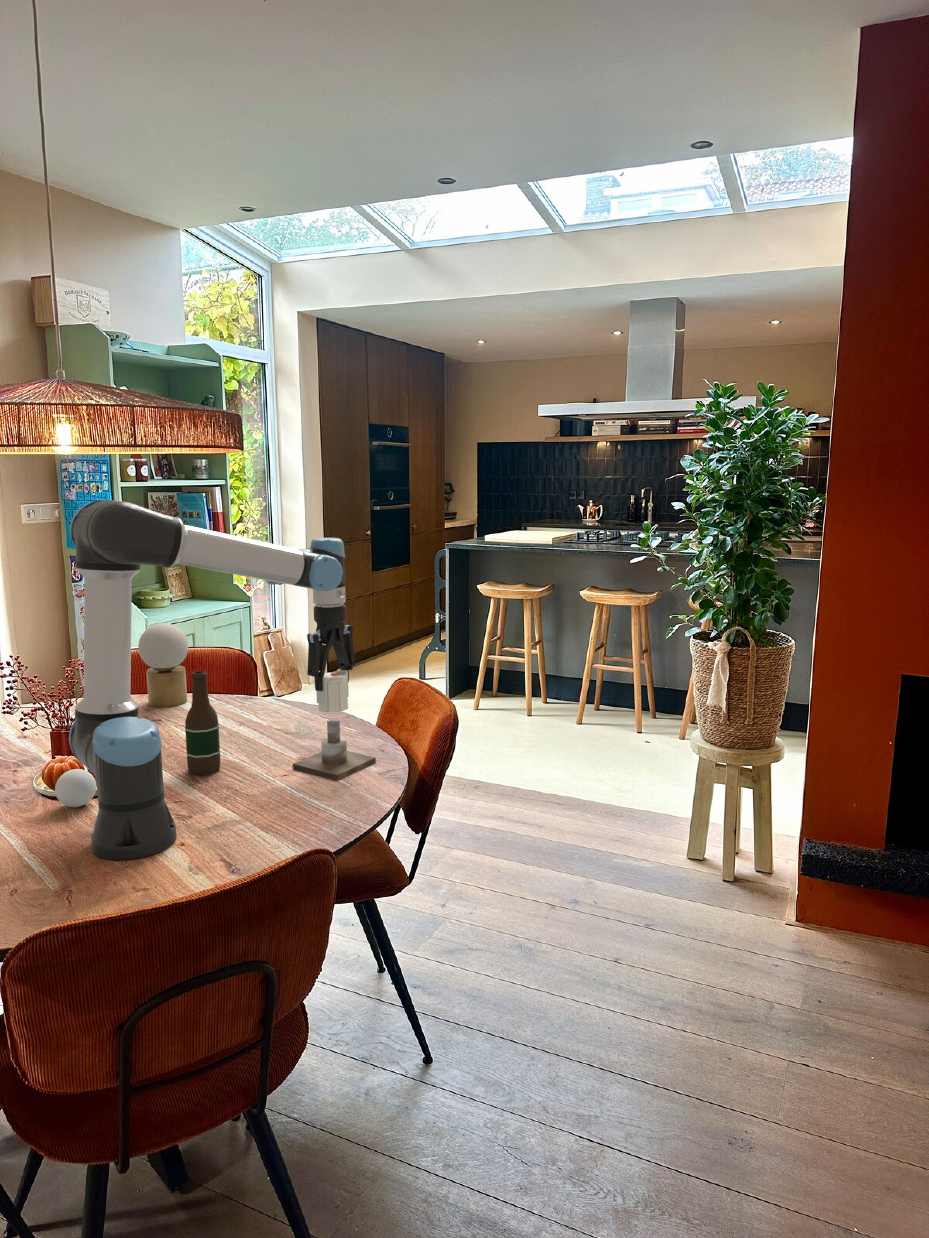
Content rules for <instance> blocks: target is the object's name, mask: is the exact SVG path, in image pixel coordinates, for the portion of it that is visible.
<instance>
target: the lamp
mask: <svg viewBox="0 0 929 1238" xmlns="http://www.w3.org/2000/svg"><path fill="white" fill-rule="evenodd" d="M137 649H138V653H139V656H140V658H141V660H142V662H143V663H144V664H145V665H146V666H148V667H150V668H147V669H146V671H145V673H146V684H147V685H146V686H147V687H146V688H147V699H148V700H147V701H148V705H149V706H151V707H155V708H171V707H176V706H180V705H183V704H186V703H187V702H188V693H187V692H188V690H187V674H186V673H187V672H186V667H185V666H183V665H180V664H181V663H183V662H184V660H185V659H186V657H187V655H188V652H189V641H188V637H187V636H186V634H185V633H184V631H183V630H182V629H181V628H179V626H176V625H174V624H172V623H167V622H165V623H164V622H161V623H156V624H153V625H150V626H149V627H148V628H146V630H144V631H143V632H142V634H141V636H140V638H139V640H138V647H137Z"/></svg>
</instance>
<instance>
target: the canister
mask: <svg viewBox="0 0 929 1238" xmlns="http://www.w3.org/2000/svg"><path fill="white" fill-rule="evenodd" d="M324 677H327V699H328V704H327V705H324V704H318V703H317V705H318V711H319V712H322V713H329V714H330V713H331V714H332V713H333V714H334V713H340V712H344V711H347V710H348V709H349V701H348V700H349V699H348V698H349V697H348V694H347V677H346V674H344V673H341V671H337V670H335V671H333V672H325V674H324Z"/></svg>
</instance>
